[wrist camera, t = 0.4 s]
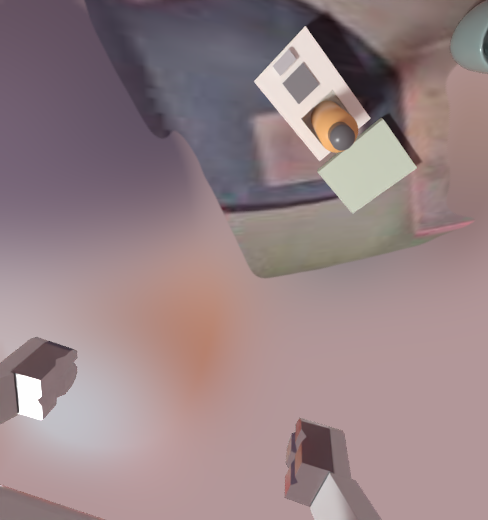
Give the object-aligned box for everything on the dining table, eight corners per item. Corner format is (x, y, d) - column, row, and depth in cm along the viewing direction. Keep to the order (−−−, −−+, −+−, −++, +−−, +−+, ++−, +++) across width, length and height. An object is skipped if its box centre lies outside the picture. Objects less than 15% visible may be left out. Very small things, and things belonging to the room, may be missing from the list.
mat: (380, 117, 49) (383, 119, 48) (414, 165, 52) (416, 168, 51) (317, 170, 54) (317, 172, 53) (351, 210, 57) (352, 213, 56)
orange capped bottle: (329, 93, 47) (348, 107, 34) (346, 117, 48) (372, 139, 36) (304, 116, 49) (314, 137, 36) (322, 138, 50) (338, 167, 38)
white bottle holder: (255, 79, 48) (253, 81, 44) (303, 27, 44) (305, 25, 40) (317, 155, 53) (319, 162, 49) (365, 114, 49) (371, 119, 45)
